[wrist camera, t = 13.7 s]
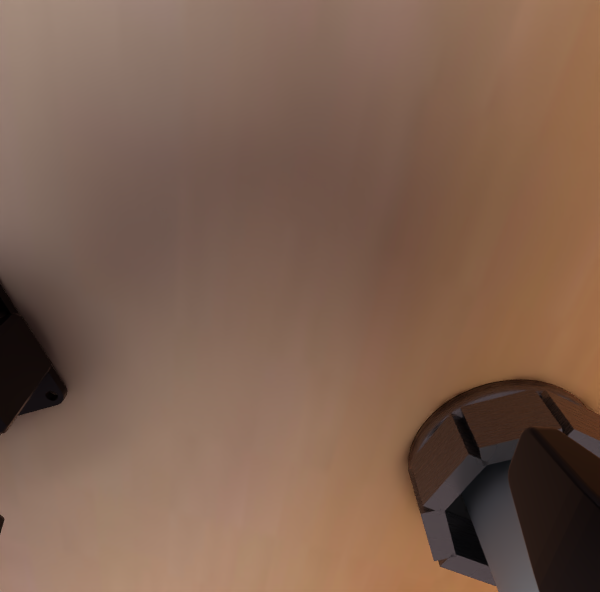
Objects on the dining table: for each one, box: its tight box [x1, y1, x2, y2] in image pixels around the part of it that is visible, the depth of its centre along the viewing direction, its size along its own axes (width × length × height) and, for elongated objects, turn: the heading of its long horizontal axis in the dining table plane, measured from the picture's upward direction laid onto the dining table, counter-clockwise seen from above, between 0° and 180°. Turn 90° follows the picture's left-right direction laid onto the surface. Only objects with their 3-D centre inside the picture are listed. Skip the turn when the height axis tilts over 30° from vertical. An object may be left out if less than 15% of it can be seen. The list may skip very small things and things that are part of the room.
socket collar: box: [408, 380, 600, 586], centre depth 24 cm, size 9×9×4 cm
